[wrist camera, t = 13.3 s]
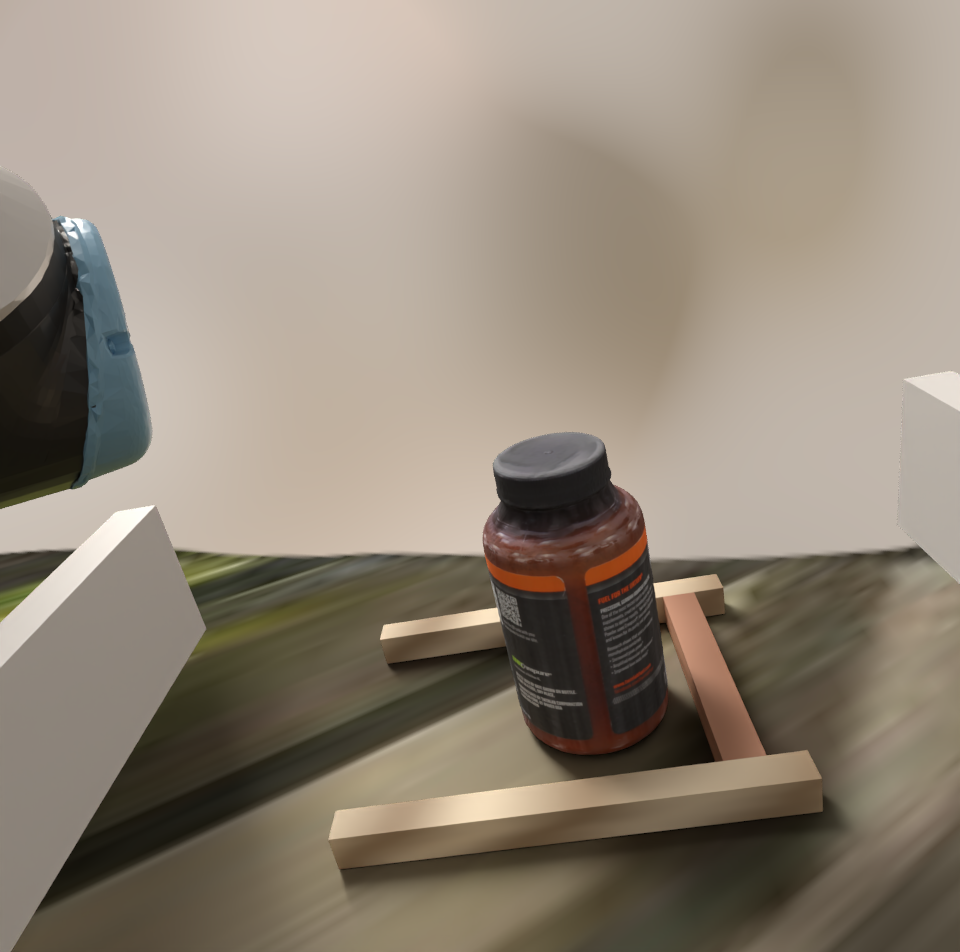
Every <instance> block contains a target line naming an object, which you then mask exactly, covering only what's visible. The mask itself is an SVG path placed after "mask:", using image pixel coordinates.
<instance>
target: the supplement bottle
mask: <svg viewBox="0 0 960 952" xmlns="http://www.w3.org/2000/svg"><path fill="white" fill-rule="evenodd" d="M493 470H494V477H495V481H496V486H497V494H498V497H499V498H500V500H501V502H500V504H499V505H498V506H497V507H496V508H495V510H494V511H493V513H492V514H491V515H490V516H489V518H488V520H487V522H486V524H485V526H484V531H483V546H484V553H485V557H486V562H487V565H488V570H489V575H490V579H491V584H492V588H493V592H494V597H495V601H496V605H497V609H498V614H499V617H500V622H501V626H502V631H503V635H504V639H505V643H506V647H507V652H508V656H509V660H510V665H511V669H512V673H513V677H514V681H515V686H516V690H517V694H518V699H519V702H520V706H521V708H522V712H523V716H524V720H525V722H526V724H527V726H528V727H529V728H530V730H531V731H532V732H533V734H534V735H535V736H536V737H537V738H538V739H540V740H541V741H543V742H544V743H545V744H547V745H549V746H551V747H553V748H555V749H558V750H560V751H563V752H568V753H572V754H580V755H595V754H607V753H610V752H615V751H619V750H622V749H625V748H627V747H629V746H632V745H634V744H635V743H637V742H639V741H641V740H642V739H643V738H645V737H646V736H647V735H649V734H650V733H651V732H652V731H653V730H654V729H655V728H656V727H657V726H658V725H659V723H660V722H661V720H662V718H663V716H664V714H665V712H666V709H667V705H668V688H667V687H668V683H667V675H666V668H665V661H664V655H663V646H662V641H661V632H660V626H659V619H658V611H657V602H656V595H655V589H654V584H653V575H652V569H651V562H650V555H649V549H648V541H647V535H646V529H645V522H644V518H643V513H642V510H641V508H640V506H639V504H638V502H637V501H636V500H635V498H633V496H631V495H630V494H629V493H628V492H626V491H625V490H624V489H622V488H620V487H618V486H616V485H613V484H612V482H611V481H610V478H611V471H610V468H609V467H608V461H607V454H606V449H605V445H604V443H603V442H602V441H601V440H600V439H599V438H597V437H595V436H592V435H589V434H583V433H577V432H566V433H565V432H564V433H554V434H547V435H542V436H538V437H534V438H530V439H527V440H524V441H522V442H519V443H517V444H514V445H512V446H510V447H509V448H507V449H506V450H504V451H503V452H502V453H500V454H499V455H498V456H497V458H496V459H495V460H494V463H493Z"/></svg>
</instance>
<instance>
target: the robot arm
mask: <svg viewBox="0 0 960 952" xmlns="http://www.w3.org/2000/svg"><path fill="white" fill-rule="evenodd" d="M151 439H152V424H151V417H150V412H149V407H148V402H147V398H146V394H145V390H144V385H143V381H142V377H141V373H140V369H139V366H138V362H137V358H136V355H135V351H134V348H133V345H132V344H131V342H130V333H129V330H128V326H127V323H126V318H125V313H124V310H123V306H122V302H121V299H120V295H119V292H118V288H117V285H116V282H115V278H114V275H113V272H112V269H111V265H110V262H109V259H108V256H107V253H106V250H105V247H104V244H103V242H102V239H101V236H100V234H99V232H98V230H97V228H96V227H95V226H94V225H93V224H92V223H91V222H89V221H88V220H84V219H70V218H67V217H63V216H59V217H57V218H55V219H52V218H51V215H50V214H49V211H48V209H47V207H46V205H45V204H44V202H43V201H42V200H41V198H40V197H39V195H38V194H37V193H36V191H35V190H34V189H33V188H32V187H31V185H30V184H29V183H27V182H26V181H24V180H23V179H22V178H21V177H20V176H18V175H17V174H15V173H13V172H11V171H10V170H8V169H6V168H4V167H2V166H0V509H2V508H5V507H9V506H12V505H16V504H19V503H22V502H26V501H29V500H33V499H36V498H39V497H43V496H46V495H49V494H53V493H57V492H60V491H63V490H67V489H76V488H80V487H82V486H83V485H85V484H86V483H87V482H88V480H90V479H93V478H96V477H99V476H101V475H104V474H107V473H109V472H112V471H115V470H118V469H120V468H123V467H126V466H128V465H131V464H133V463H135V462H137V461H138V460H139V459H140V458H141V457H143V455H144V454H145V453H146V451H147V450H148V448H149V446H150V443H151ZM900 449H901V450H900V471H899V494H898V495H899V497H898V518H897V525H898V526H899V527H900V528H901V529H902V530H903V531H904V532H905V533H906V534H907V535H909V536H910V537H911V538H912V539H913V540H914V541H915V542H916V543H917V544H918V545H919V546H920V547H921V548H922V549H923V550H924V551H925V552H926V553H927V554H929V555H930V556H931V557H932V558H933V559H934V560H935V561H936V562H937V563H938V564H939V565H940V566H941V567H942V568H943V569H944V570H945V571H946V572H948V573H949V574H950V575H951V576H952V577H953V578H954V579H955V580H956V581H957V582H958V583H959V584H960V375H959V374H957V373H955V372H953V371H949V372H942V373H936V374H930V375H924V376H919V377H913V378H907V379H903V401H902V425H901V448H900ZM205 630H206V627H205V624H204V622H203V620H202V617H201V615H200V612H199V610H198V607H197V605H196V603H195V600H194V598H193V595H192V593H191V590H190V588H189V585H188V583H187V581H186V578H185V576H184V573H183V571H182V568H181V566H180V563H179V561H178V559H177V556H176V554H175V551H174V549H173V546H172V544H171V542H170V540H169V537H168V534H167V532H166V529H165V527H164V524H163V522H162V520H161V517H160V515H159V512H158V510H157V507H156V505H153V506H148V507H142V508H135V509H129V510H123V511H118V512H115V513H114V514H113V515H112V516H111V517H110V518H109V519H108V520H107V521H106V522H105V523H104V524H103V525H102V526H101V527H100V528H99V529H98V530H97V531H96V532H95V533H93V534H92V535H91V536H90V537H89V538H88V539H87V540H86V541H85V542H84V543H83V544H82V545H81V546H80V547H79V548H78V549H77V550H76V551H75V552H74V553H73V554H72V555H70V556H69V557H68V558H67V559H66V560H65V561H64V562H63V563H62V564H61V565H60V566H59V567H58V568H57V569H56V570H55V571H54V572H53V573H52V574H51V575H50V576H49V577H47V578H46V579H45V580H44V581H43V582H42V583H41V584H40V585H39V586H38V587H37V588H36V589H35V590H34V591H33V592H32V593H31V594H30V595H29V596H28V597H27V598H26V599H24V600H23V601H22V602H21V603H20V604H19V605H18V606H17V607H16V608H15V609H14V610H13V611H12V612H11V613H10V614H9V615H8V616H7V617H6V618H5V619H4V620H3V621H2V622H0V952H11V951H12V949H13V948H14V946H15V944H16V943H17V941H18V939H19V938H20V936H21V934H22V933H23V931H24V929H25V928H26V926H27V924H28V923H29V921H30V919H31V918H32V916H33V914H34V913H35V911H36V909H37V908H38V906H39V905H40V903H41V901H42V900H43V898H44V896H45V895H46V893H47V891H48V890H49V888H50V886H51V885H52V883H53V881H54V880H55V878H56V876H57V875H58V873H59V871H60V870H61V868H62V866H63V865H64V863H65V861H66V860H67V858H68V857H69V855H70V853H71V852H72V850H73V848H74V847H75V845H76V843H77V842H78V840H79V838H80V837H81V835H82V833H83V832H84V830H85V828H86V827H87V825H88V823H89V822H90V820H91V818H92V817H93V815H94V814H95V812H96V810H97V809H98V807H99V805H100V804H101V802H102V800H103V799H104V797H105V795H106V794H107V792H108V790H109V789H110V787H111V785H112V784H113V782H114V780H115V779H116V777H117V775H118V774H119V772H120V771H121V769H122V767H123V766H124V764H125V762H126V761H127V759H128V757H129V756H130V754H131V752H132V751H133V749H134V747H135V746H136V744H137V742H138V741H139V739H140V737H141V736H142V734H143V732H144V731H145V729H146V728H147V726H148V724H149V723H150V721H151V719H152V718H153V716H154V714H155V713H156V711H157V709H158V708H159V706H160V704H161V703H162V701H163V699H164V698H165V696H166V694H167V693H168V691H169V689H170V688H171V686H172V685H173V683H174V681H175V680H176V678H177V676H178V675H179V673H180V671H181V670H182V668H183V666H184V665H185V663H186V661H187V660H188V658H189V656H190V655H191V653H192V651H193V650H194V648H195V646H196V645H197V643H198V642H199V640H200V638H201V637H202V635H203V633H204V632H205Z"/></svg>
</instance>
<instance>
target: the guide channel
mask: <svg viewBox="0 0 960 952" xmlns="http://www.w3.org/2000/svg"><path fill="white" fill-rule="evenodd" d="M654 589H655V595H656V602H657V611H658V619H659V623H665V622H666V624H667V627H668V630H669V632H670V635H671V638H672V641H673V644H674V646H675V649H676V652H677V655H678V658H679V661H680V663H681V666H682V669H683V672H684V675H685V678H686V680H687V683H688V686H689V689H690V692H691V694H692V697H693V700H694V703H695V706H696V709H697V711H698V714H699V717H700V720H701V723H702V726H703V728H704V731H705V734H706V737H707V740H708V743H709V745H710V748H711V751H712V754H713V757H714V759H715V762H712V763H704V764H696V765H689V766H681V767H673V768H665V769H657V770H650V771H642V772H634V773H626V774H618V775H611V776H603V777H595V778H587V779H579V780H571V781H564V782H556V783H548V784H540V785H532V786H525V787H517V788H509V789H501V790H493V791H486V792H478V793H470V794H462V795H454V796H447V797H439V798H431V799H423V800H415V801H407V802H400V803H392V804H384V805H376V806H368V807H361V808H353V809H345V810H337V811H336V812H335V815H334V819H333V823H332V827H331V831H330V835H329V839H328V841H329V843H330V846H331V849H332V851H333V854H334V856H335V859H336V862H337V864H338V867H339V869H347V868H355V867H363V866H372V865H380V864H389V863H397V862H405V861H414V860H422V859H430V858H439V857H447V856H456V855H464V854H472V853H481V852H489V851H497V850H506V849H514V848H523V847H531V846H539V845H548V844H556V843H564V842H573V841H581V840H590V839H598V838H606V837H615V836H623V835H631V834H640V833H648V832H657V831H665V830H673V829H682V828H690V827H698V826H707V825H715V824H724V823H732V822H740V821H749V820H757V819H765V818H774V817H782V816H791V815H799V814H807V813H816V812H823V796H822V778H821V776H820V774H819V772H818V770H817V768H816V766H815V764H814V762H813V760H812V758H811V756H810V754H809V753H808V751H807V750H806V751H798V752H790V753H782V754H775V755H766V753H765V751H764V749H763V746H762V744H761V742H760V740H759V737H758V735H757V733H756V731H755V728H754V726H753V724H752V722H751V719H750V717H749V715H748V713H747V710H746V708H745V706H744V704H743V701H742V699H741V697H740V695H739V692H738V690H737V688H736V686H735V683H734V681H733V679H732V677H731V674H730V672H729V670H728V668H727V665H726V663H725V661H724V659H723V656H722V654H721V652H720V650H719V647H718V645H717V643H716V641H715V638H714V636H713V634H712V632H711V629H710V627H709V625H708V623H707V620H706V618H705V617H706V616H713V615H719V614H725V604H724V592H723V586H722V585H721V583H720V581H719V579H718V577H717V575H716V574H713V575H707V576H700V577H694V578H687V579H681V580H674V581H668V582H661V583H655V584H654ZM380 641H381V645H382V648H383V651H384V655H385V658H386V661H387V664H389V663H396V662H403V661H409V660H416V659H423V658H430V657H436V656H443V655H450V654H456V653H463V652H470V651H477V650H483V649H490V648H497V647H504V646H506V643H505V639H504V635H503V631H502V626H501V622H500V617H499V614H498V609H497V608H492V609H486V610H479V611H473V612H466V613H460V614H453V615H447V616H440V617H434V618H427V619H421V620H414V621H408V622H401V623H395V624H388V625H384V626H383V630H382V634H381V638H380Z"/></svg>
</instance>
